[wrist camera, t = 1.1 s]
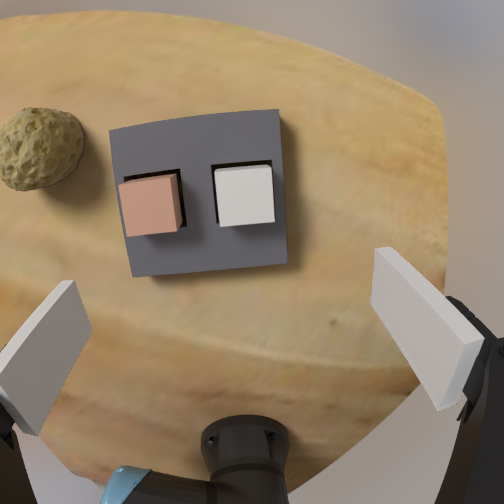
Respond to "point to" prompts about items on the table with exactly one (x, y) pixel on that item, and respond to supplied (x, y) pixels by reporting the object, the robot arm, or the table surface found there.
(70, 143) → the rock
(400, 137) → the table surface
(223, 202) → the key soft
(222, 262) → the key panel
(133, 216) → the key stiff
